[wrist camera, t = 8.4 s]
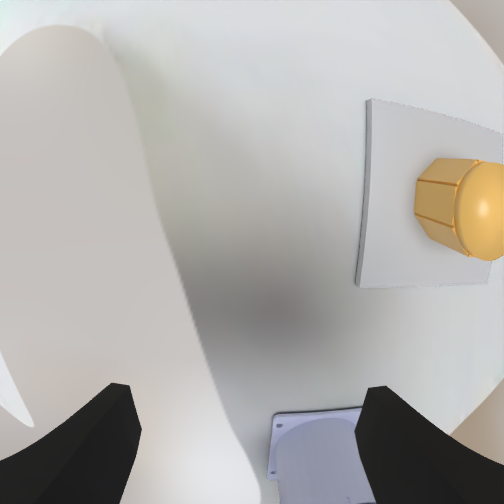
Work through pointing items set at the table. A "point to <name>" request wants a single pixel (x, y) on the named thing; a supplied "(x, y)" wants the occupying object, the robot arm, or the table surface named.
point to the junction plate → (413, 196)
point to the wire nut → (463, 206)
